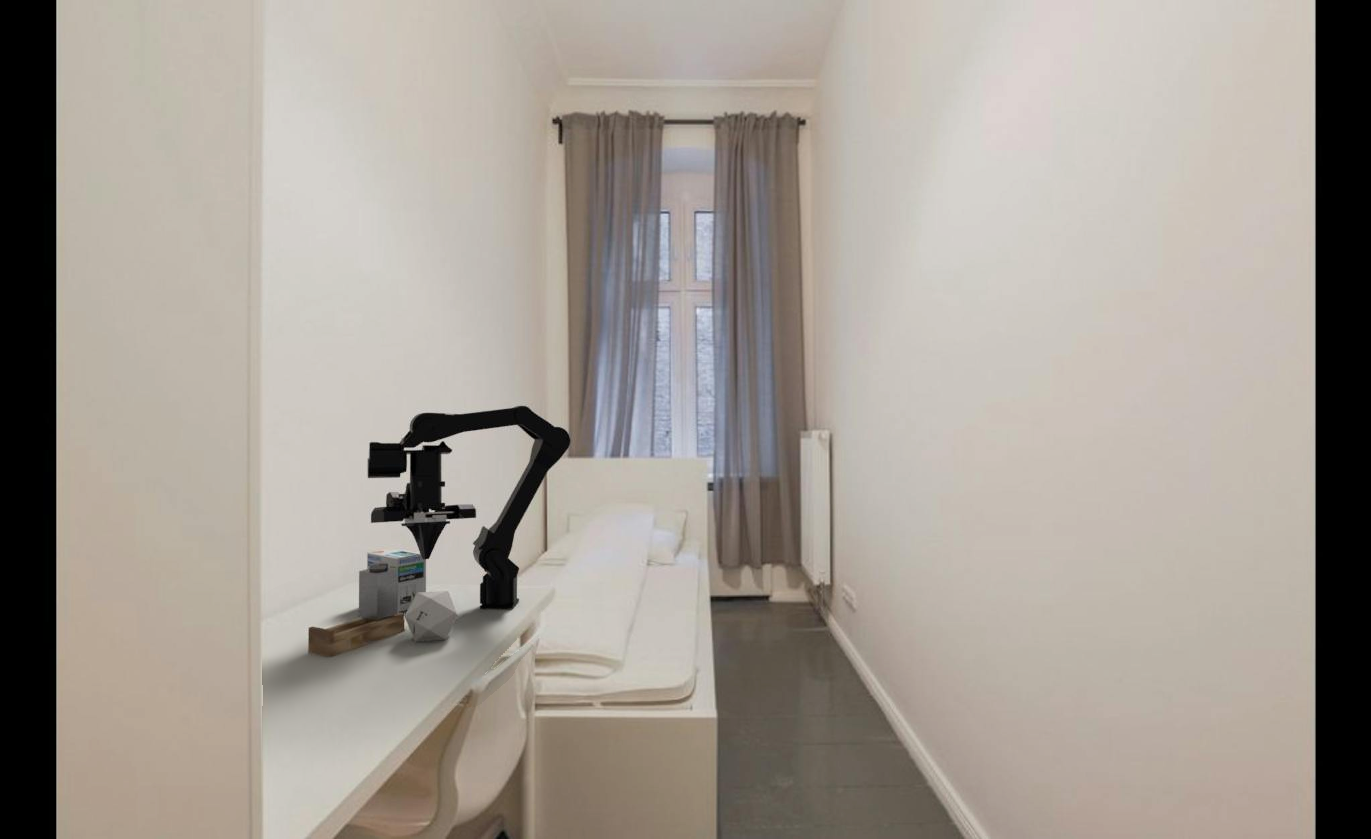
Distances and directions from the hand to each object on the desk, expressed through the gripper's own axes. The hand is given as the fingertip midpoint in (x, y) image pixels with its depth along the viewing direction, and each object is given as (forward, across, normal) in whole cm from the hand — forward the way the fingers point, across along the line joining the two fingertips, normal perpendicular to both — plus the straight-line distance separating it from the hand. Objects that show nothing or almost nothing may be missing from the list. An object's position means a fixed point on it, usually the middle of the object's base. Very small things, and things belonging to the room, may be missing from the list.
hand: (425, 559), depth 128 cm
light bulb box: (+10, -1, -14) cm, 17 cm away
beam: (+12, +13, +2) cm, 18 cm away
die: (+13, +4, +10) cm, 17 cm away
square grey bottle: (+10, +10, +2) cm, 14 cm away
